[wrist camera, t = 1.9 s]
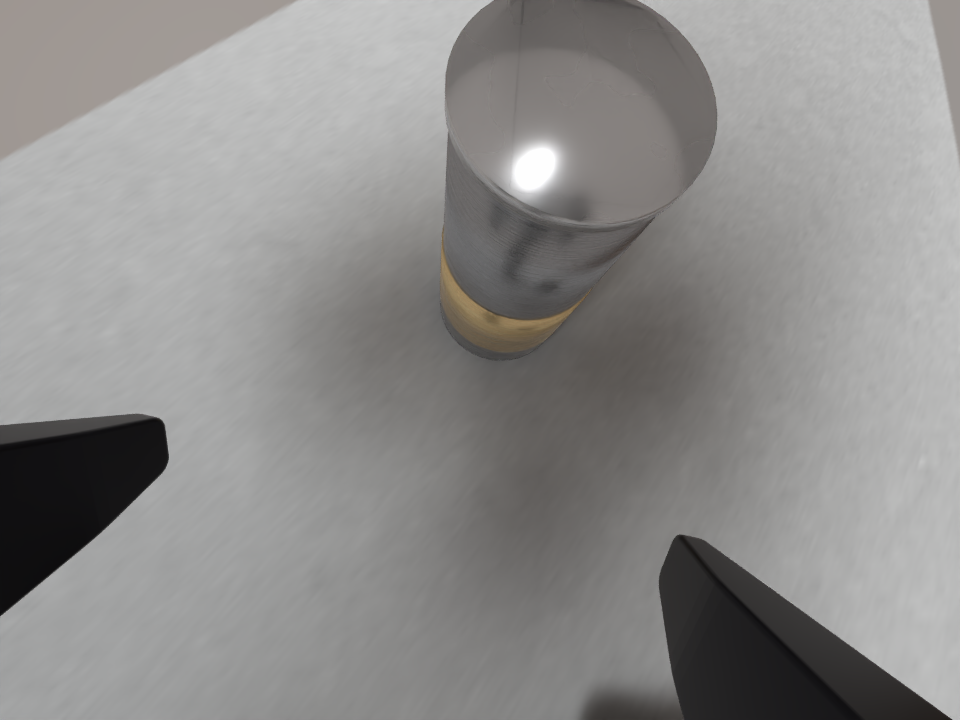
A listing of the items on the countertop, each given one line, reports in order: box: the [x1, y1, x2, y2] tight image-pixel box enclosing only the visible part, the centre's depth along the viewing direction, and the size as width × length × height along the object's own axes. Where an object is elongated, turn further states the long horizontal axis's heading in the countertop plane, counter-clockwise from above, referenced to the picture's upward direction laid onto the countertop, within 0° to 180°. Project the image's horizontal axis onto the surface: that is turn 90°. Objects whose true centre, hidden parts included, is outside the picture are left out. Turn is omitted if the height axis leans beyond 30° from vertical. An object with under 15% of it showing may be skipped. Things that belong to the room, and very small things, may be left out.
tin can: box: [440, 0, 717, 360], centre depth 16 cm, size 6×6×13 cm
